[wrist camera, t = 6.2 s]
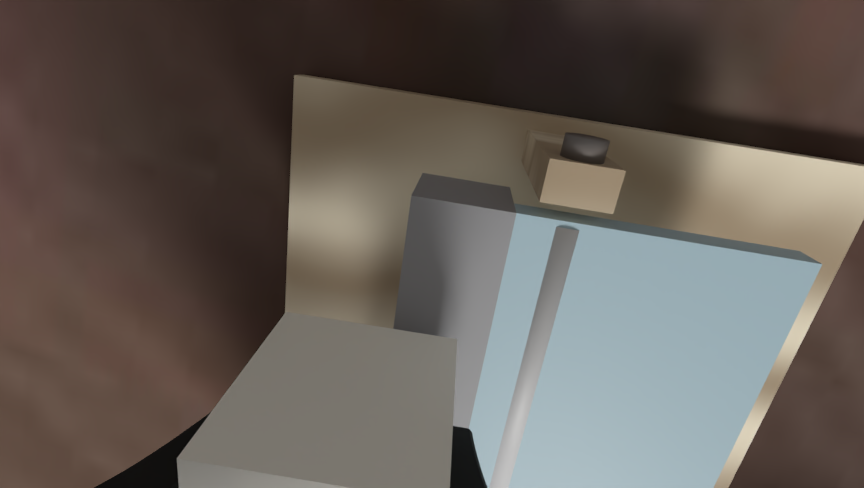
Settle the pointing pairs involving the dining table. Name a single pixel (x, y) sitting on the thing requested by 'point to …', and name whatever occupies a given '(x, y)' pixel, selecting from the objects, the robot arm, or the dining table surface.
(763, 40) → the dining table surface
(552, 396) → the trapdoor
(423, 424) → the limestone block
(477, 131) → the beige slab
